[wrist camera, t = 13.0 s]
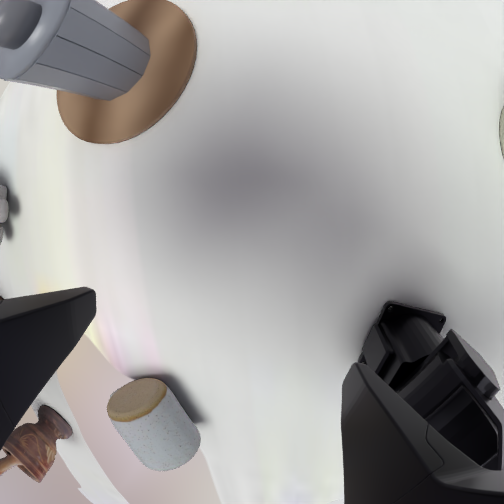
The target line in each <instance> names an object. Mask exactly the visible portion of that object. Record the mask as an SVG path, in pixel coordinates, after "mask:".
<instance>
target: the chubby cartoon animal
mask: <svg viewBox="0 0 504 504" xmlns="http://www.w3.org/2000/svg"><path fill="white" fill-rule="evenodd" d="M6 197H7V188H6V187H5V186H4V185H0V223H3V222H5V221H6V220H7V217H8V202H7V200H6ZM2 238H3V228H2V226H1V225H0V244H1V242H2Z"/></svg>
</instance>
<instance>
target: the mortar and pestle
mask: <svg viewBox="0 0 504 504" xmlns="http://www.w3.org/2000/svg"><path fill="white" fill-rule="evenodd" d="M38 417H39V421H38V422H37V423H36V424H32V423H26V424H23V425H22V426H19V427H18V428H16V429H15V430H14V431H13V432H12V433H11V435H10V436H9V438H8V439H7V441H6V442H5V444H4V446H3V447H2V449H3V451H4V452H5V453H6V454H7V456H6V457H5V458H2V459H0V476H1V475H2V474H3V473H5V472H6V471H7V470H9V469H11V468H12V467H14V466H18V467H19V468H20V469H21V470H22V471H23V472H25V473H26V474H27V475H28V476H29V477H31V478H32V479H33V480H35V481H36V482H39V483H40V482H41V481H42V479H43V478H44V476H45V475H46V473H47V471H49V469H50V467H51V466H52V464H53V462H54V460H55V455H56V440H57V439H60V438H61V439H67V438H69V437H70V436H71V435H72V429H71V426H69V425H68V424H67V423H66V422H65V421H64V420H63V419H62V418H61V417H60V416H59V415H58V414H57V413H56V412H55V411H54V410H53V409H51V408H49V407H47V406H40V408H39V410H38Z"/></svg>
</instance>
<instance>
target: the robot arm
mask: <svg viewBox="0 0 504 504" xmlns="http://www.w3.org/2000/svg"><path fill="white" fill-rule="evenodd" d="M390 306H392V308H391V309H390V310H388V308H389V307H390ZM95 315H96V293H95V291H94V290H93V289H90V288H88V287H80V288H74V289H67V290H61V291H55V292H49V293H42V294H36V295H30V296H23V297H17V298H10V299H4V300H0V450H1V449H2V447H3V446H4V444H5V442H6V441H7V439H8V438H9V436H10V435H11V433H12V432H13V430H14V429H15V427H16V425H17V424H18V422H19V421H20V420H21V418H22V416H23V415H24V414H25V412H26V411H27V409H28V408H29V406H30V405H31V404H32V402H33V401H34V400H35V398H36V397H37V395H38V394H39V393H40V391H41V390H42V389H43V387H44V386H45V385H46V383H47V382H48V381H49V379H50V378H51V377H52V375H53V374H54V373H55V371H56V370H57V369H58V367H59V366H60V365H61V364H62V362H63V361H64V360H65V359H66V357H67V356H68V355H69V354H70V352H71V351H72V350H73V348H74V347H75V346H76V344H77V343H78V341H79V340H80V338H81V337H82V335H83V334H84V332H85V331H86V329H87V328H88V326H89V325H90V323H91V322H92V320H93V319H94V317H95ZM441 318H442V320H441V321H439V320H440V319H441ZM445 322H446V317H445V316H444V315H443V314H441V313H437V312H433V311H429V310H424V309H420V308H416V307H412V306H408V305H404V304H400V303H396V302H392V301H389V302H387V303H386V304H385V305H384V307H383V310H382V312H381V314H380V316H379V319H378V321H377V323H376V324H375V325H373V327H372V329H371V332H370V334H369V336H368V338H367V340H366V342H365V344H364V346H363V348H362V350H363V352H362V354H361V356H360V358H359V360H358V363H357V362H355V363H353V365H352V366H351V368H350V370H349V372H348V374H347V375H346V377H345V379H344V381H343V385H342V410H341V433H342V448H343V468H344V504H504V409H503V407H502V406H501V404H500V403H499V402H498V400H497V399H496V397H495V394H496V393H497V392H498V391H499V390H500V387H499V384H498V381H497V378H496V376H495V373H494V371H493V370H492V369H491V368H490V366H489V365H488V364H487V363H486V362H485V360H484V359H483V358H482V357H481V356H480V354H479V353H478V352H477V351H475V350H474V349H473V348H472V347H471V346H470V345H469V344H468V343H467V342H466V341H465V340H464V339H462V338H461V337H460V336H459V335H458V334H457V333H456V332H455V331H454V330H452V329H450V331H449V332H448V333H447V334H446V335H447V336H446V337H445V338H444V340H443V338H442V337H441V336H440V334H439V333H440V332H441V330H442V328H443V326H444V324H445ZM364 361H366V362H365V363H362V362H364Z"/></svg>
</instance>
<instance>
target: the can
mask: <svg viewBox="0 0 504 504" xmlns="http://www.w3.org/2000/svg"><path fill="white" fill-rule="evenodd" d="M500 142H501V148H502V153H503V157H504V108H503V110H502V113H501V118H500Z"/></svg>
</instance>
